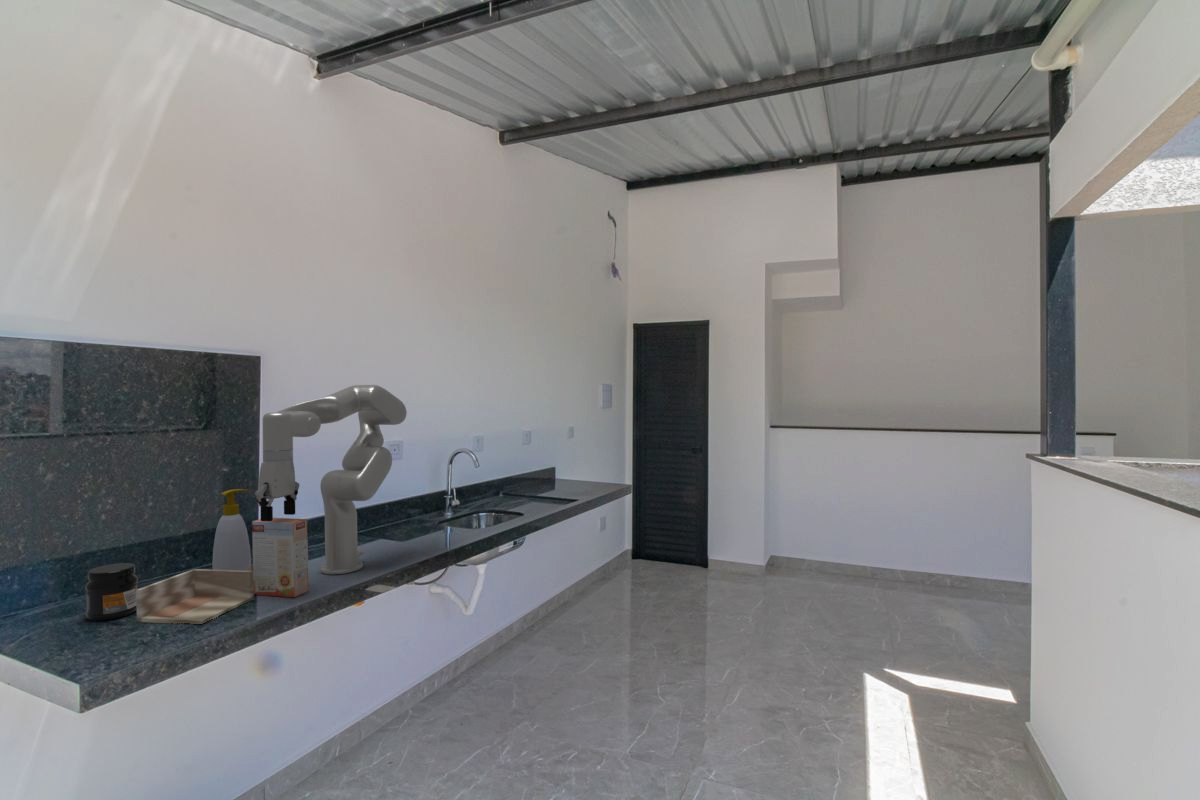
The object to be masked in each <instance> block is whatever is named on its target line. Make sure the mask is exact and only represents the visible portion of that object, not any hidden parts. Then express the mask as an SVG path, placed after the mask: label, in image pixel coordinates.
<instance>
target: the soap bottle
mask: <svg viewBox="0 0 1200 800" xmlns="http://www.w3.org/2000/svg"><path fill="white" fill-rule="evenodd" d="M238 492H246V493H249V494H252V492H253V491H251V490H249V489H243V488H237V489H236V488H235V489H228V490H225V491H223V492H220V495H221V496H223V497H226V504H223V505H222V516H220V518H219V521H218V523H217V526H216V530H215V533H214V534H215V535H214V542H213V548H212V570H243V571H253V566H252V555H251V554H252V553H251V544H250V538H249V533H248V529H247V525H246V522H245V521H244V517H243V516H242V515H241V514H240V508H239V506H240V504H239V503H235V493H238Z"/></svg>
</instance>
